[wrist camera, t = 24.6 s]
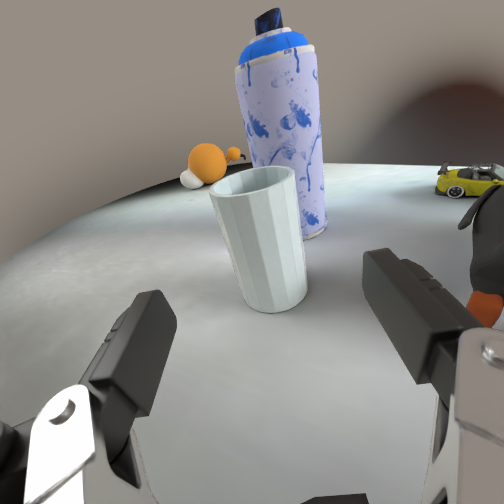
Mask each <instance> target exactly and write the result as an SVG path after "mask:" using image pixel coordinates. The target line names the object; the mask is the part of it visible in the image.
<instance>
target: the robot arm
mask: <svg viewBox="0 0 504 504" xmlns="http://www.w3.org/2000/svg"><path fill="white" fill-rule="evenodd" d="M362 287H363V292H364V295H365V297H366V300H367V301H368V303H369V305H370V306H371V308H372V310H373V311H374V313H375V315H376V316H377V318H378V320H379V322H380V323H381V325H382V327H383V328H384V330H385V332H386V333H387V335H388V337H389V338H390V340H391V342H392V343H393V345H394V347H395V348H396V350H397V352H398V354H399V355H400V357H401V359H402V360H403V362H404V364H405V365H406V367H407V369H408V370H409V372H410V374H411V375H412V377H413V379H414V381H415V382H416V384H426V383H432V385H433V387H434V388H435V390H436V391H437V393H438V394H437V398H436V405H435V414H434V422H433V431H432V439H431V448H430V456H429V464H428V470H427V474H426V478H425V482H424V487H423V492H422V498H421V504H504V332H503V331H500V330H496V329H492V328H486V327H485V326H484V325H483V324H482V323H481V322H480V321H479V320H478V319H477V318H476V317H475V316H473V315H472V314H471V313H470V312H469V311H468V310H467V309H466V308H465V307H464V306H463V305H462V304H461V303H460V302H459V301H458V300H457V299H456V298H455V297H454V296H452V295H451V294H450V293H449V292H448V291H447V290H446V289H445V288H443V287H442V285H441V284H440V283H439V282H438V281H437V280H436V279H433V276H432V275H430V274H429V273H428V272H427V271H426V270H425V269H424V268H423V267H422V266H420V265H418V264H416V263H414V262H412V261H410V260H408V259H402V260H400V259H399V258H398V257H397V256H396V255H395V254H394V253H393V252H392V251H391V250H390V249H388V248H383V249H378V250H372V251H367V252H365V253H364V255H363V274H362ZM176 329H177V320H176V316H175V314H174V312H173V310H172V309H171V307H170V305H169V303H168V302H167V300H166V298H165V297H164V295H163V293H162V292H161V291H160V290H153V291H147V292H142V293H139V294H138V295H137V296H136V298H135V299H134V301H133V303H132V305H131V306H130V307H129V308H128V309H127V310H126V311H125V312H124V313H123V314H122V315H121V316H120V317H119V318H118V319H117V320H116V322H115V323H114V325H113V327H112V328H111V330H110V331H111V332H110V333H108V335H107V337H106V338H105V340H104V341H105V342H104V343H102V345H101V347H100V348H99V350H98V352H97V353H96V355H95V356H94V358H93V360H92V361H91V363H90V365H89V366H88V368H87V370H86V371H85V373H84V375H83V376H82V378H81V380H80V381H79V383H78V384H77V385H74V386H71V387H69V388H67V389H65V390H63V391H61V392H60V393H58V394H57V395H56V396H55V397H53V398H52V399H51V400H50V401H49V402H48V403H47V404H46V405H45V406H44V407H43V409H42V410H41V411H40V412H39V414H38V416H37V417H34V418H32V419H30V420H28V421H26V422H23V423H21V424H19V425H17V426H15V427H10V426H9V425H7V424H5V423H3V422H2V421H0V504H158V502H157V500H156V499H155V498H154V496H153V494H152V492H151V490H150V487H149V483H148V480H147V476H146V472H145V468H144V465H143V461H142V457H141V453H140V449H139V446H138V442H137V438H136V434H135V431H134V429H133V428H132V424H133V421H134V419H135V418H137V417H145V416H149V414H150V411H151V408H152V405H153V402H154V398H155V395H156V392H157V389H158V386H159V383H160V380H161V377H162V373H163V370H164V367H165V364H166V361H167V358H168V355H169V351H170V348H171V345H172V342H173V339H174V336H175V333H176ZM301 504H369V503H368V500H367V497H366V493H363V494H350V495H337V496H323V497H314V498H312V499H310V500H308V501H306V502H303V503H301Z"/></svg>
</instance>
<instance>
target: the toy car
mask: <svg viewBox="0 0 504 504" xmlns="http://www.w3.org/2000/svg"><path fill="white" fill-rule="evenodd" d="M449 164H451V162H447V161H445V162H444V164H443V165H442V167H441V169H440V171H438V175H441V176H440V177H439V178H438V181H437V186H436V188H435V193H436V194H445V195H446V193H447V194H448V196H449V197H451V198H457V197H460V196H461V195H462V194H463V193H464V192H466V194H465V196H481V195H482V194H483V193H484V192H485V191H486V190H487V189H488V188H490V187H491V186H493V185H497V184H501V185H504V167H502V166H499V165H498V164H495V163H489V167H490V165H491V168H490V169H489V167H488V169H482V168H480V166H478V167H477V166H475V164H472V165H471V168H472V166H473V168H472V169H471V168H469V167H470V166H469V167H468V168H464V169H454V170H447V167H448V165H449ZM477 164H478V165H479V163H477ZM482 164H485V165H486V164H488V163H482ZM478 168H479V169H478ZM459 192H460V193H459ZM458 193H459V194H458ZM453 194H456V195H453Z"/></svg>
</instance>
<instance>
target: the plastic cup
mask: <svg viewBox="0 0 504 504" xmlns="http://www.w3.org/2000/svg"><path fill="white" fill-rule="evenodd" d="M209 194H210V197H211V200H212V203H213V206H214V210H215V213H216V216H217V219H218V222H219V225H220V228H221V231H222V234H223V237H224V240H225V243H226V246H227V249H228V252H229V255H230V258H231V261H232V264H233V267H234V270H235V273H236V276H237V279H238V282H239V285H240V288H241V291H242V295H243V297H244V299H245V301H246V303H247V304H248V305H249V306H250V307H251V308H253V309H255V310H257V311H260V312H265V313H277V312H282V311H285V310H288V309H290V308H292V307H294V306H296V305H297V304H299V303H300V302H301V301H302V300H303V298H304V297H305V295H306V293H307V289H308V284H307V282H308V280H307V272H306V263H305V255H304V247H303V239H302V231H301V222H300V214H299V206H298V198H297V190H296V182H295V173H294V170H293V169H291V168H290V167H287V166H280V165H278V166H264V167H258V168H253V169H248V170H245V171H241V172H238V173H235V174H232V175H230V176H227V177H225V178H223V179H221V180H219V181H217V182H216V183H214V184H213V185H212V186H211V187H210V188H209Z"/></svg>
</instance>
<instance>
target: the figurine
mask: <svg viewBox="0 0 504 504" xmlns="http://www.w3.org/2000/svg"><path fill="white" fill-rule="evenodd" d="M478 208H479V209H478ZM477 210H478V211H477ZM476 212H477V213H476ZM475 213H476V215H475ZM474 215H475V217H474ZM473 217H474V222H473V231H472V237H473V259H472V262H471V265H470V281H471V285H472V287H473V293H472V295H471V297H470V299H469V301H468V304H467V308H466V309H467V310H468V311H469V312H470V313H471V314H472V315H473V316H475V317H476V318H477V319H478V320H479V321H480V322H481V323H482V324H483V325H484V326H485V327H486V328H491V327H492V326H493V325H494V324H495V322H496V321H497V320H498V318H499V317H500V315H501V312H502V309H503V306H504V185H501V184H497V185H493V186H491V187H490V188H488V189H487V190H486V191H485V192H484V193H483V194H482V195H481V196H480V197H479V198H478V199H477V201H476V202H475V203H474V204H473V205H472V206H471V208H470V209H469V210H468V212H467V213H466V214H465V216H464V217H463V219H462V220H461V222H460V223H459V225H458V229H460V230H462V229H464V228H466V227H467V226H469V225H470V224H471V222H472V219H473Z"/></svg>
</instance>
